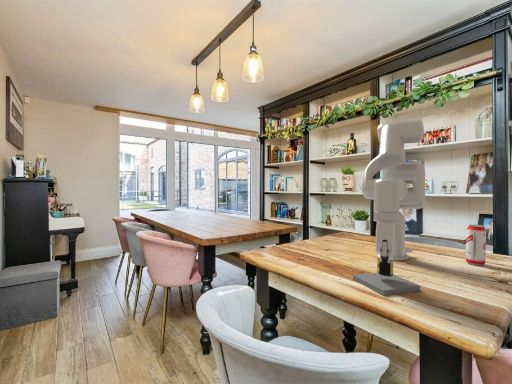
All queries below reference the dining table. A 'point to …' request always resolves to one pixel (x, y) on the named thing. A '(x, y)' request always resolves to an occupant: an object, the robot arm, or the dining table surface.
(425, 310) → the dining table surface
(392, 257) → the supplement bottle
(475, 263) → the beer can
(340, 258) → the dining table surface
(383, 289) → the slate board
